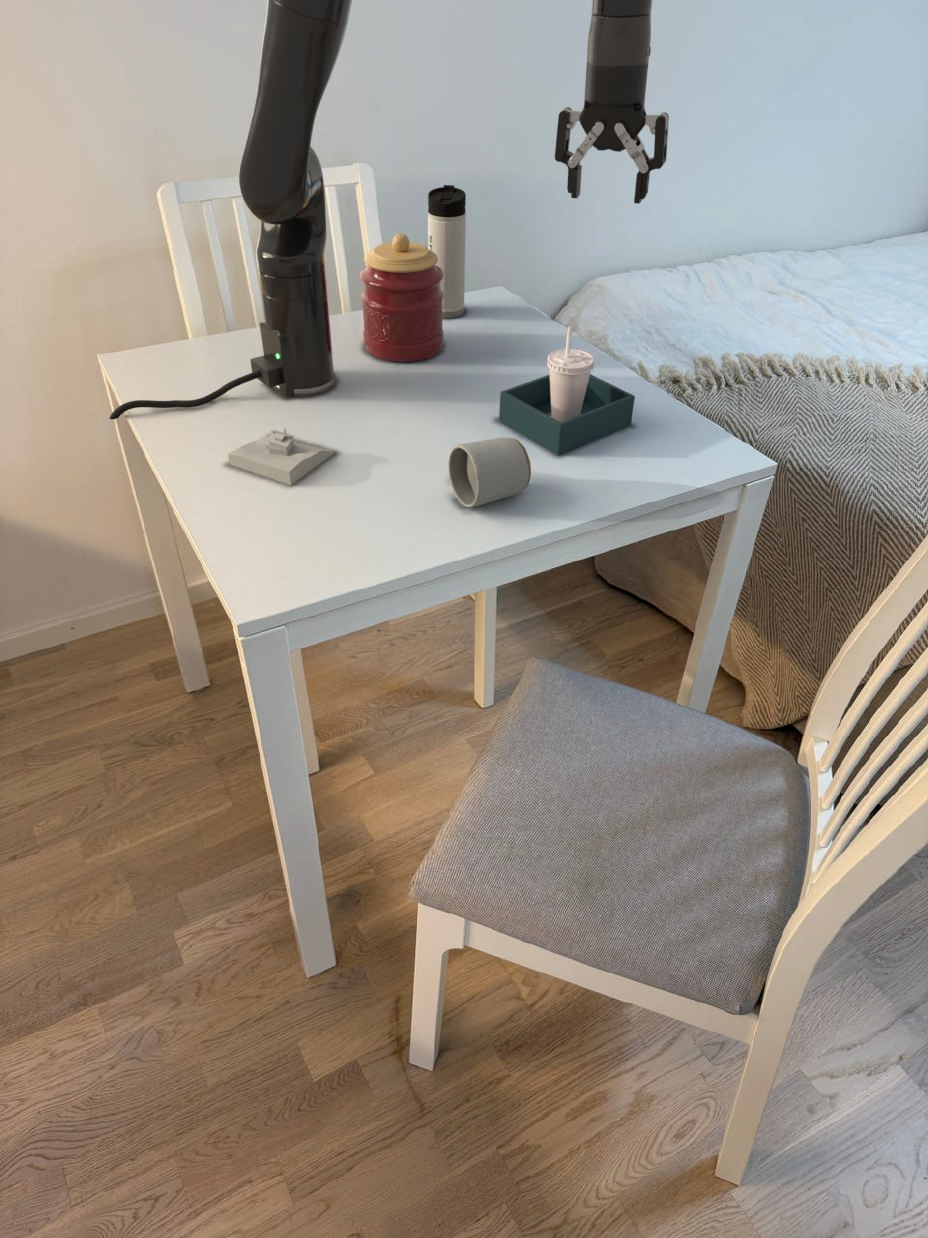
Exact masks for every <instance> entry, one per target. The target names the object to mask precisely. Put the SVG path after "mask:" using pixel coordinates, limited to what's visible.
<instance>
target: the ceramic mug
mask: <svg viewBox="0 0 928 1238" xmlns="http://www.w3.org/2000/svg"><path fill="white" fill-rule="evenodd" d="M448 475H449V481H450V483H451V488H452V491H453V493H454V495H455V497H456V499H457V500H458V501H459V503H460V504H461V505H463V506H464V507H465V508H469V509H470V508H476V507H478V506H482V505H486V504H490V503H493V502H496V501H500V500H503V499H507V498H510V497H514V496H517V495H519V494H521V493H522V492H524V491H525V490H526V489H527V488H528V486H529V484H530V481H531V476H532V466H531V460H530V457H529V454H528V452H527V449H526V448H525V446H524V444H522V442H520V440H518V439H516V438H514V437H495V438H490V439H485V440H478V441H474V442H466V443H459V444H457V445H455V446H454V447H452V449H451V451H450V453H449V457H448Z"/></svg>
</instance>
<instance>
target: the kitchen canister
mask: <svg viewBox="0 0 928 1238" xmlns="http://www.w3.org/2000/svg"><path fill="white" fill-rule="evenodd" d="M363 258H364V263H365V264H366V265H365V266H364V267H363V268H362V269H361V271H360V273H359V278H360V280H361V281H362V282H363V291H362V292H361V294H360V296H361V297H360V298H361V301H362V314H363V332H362V333H363V342H364V344H365V349H366V351H367V352H368V353H369V354H370V355H372V356H373V357H375V358H378V359H381V360H384V361H390V362H401V363H402V362H403V363H405V362H418V361H422V360H426V359H429V358H431V357H434V356H435V355H437V354H438V353H439V352H440V351H441V350H442V348H443V342H444V329H443V318H442V300H443V297H444V295H443V292H442V291H441V289H440V281H441V280H442V279H443V276H444V274H443V271H442V270H441V268H439V267H438V266H437V265H436V263H437V262H438V256H437V255H436V254H435V253H434V252H432V251H430V250H429V249H428V246H425V244H421V243H419V242H412V241H410V239H409V237H408V236H407V235H406V234H404V233H397V234H395V235H394V236H393V238H392V241H389V242H385V243H380V244H378V245H377V246H375V247H374V248H373V249H372V250H370V251H369V252H368V253H366V254H365V256H364V257H363Z"/></svg>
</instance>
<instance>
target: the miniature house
mask: <svg viewBox="0 0 928 1238" xmlns="http://www.w3.org/2000/svg"><path fill="white" fill-rule="evenodd" d="M282 430H283V432H282V431H279V430H276V429H273V430H271V433H270V435H268V436H264V437H261V438H259V439H257V440H254V441H252V442H249V443H246V444H244V445H241V446H239V447H237V448H235V449H234V450H232V451H230V452H229V453H227V456H228V462H229V465H230V466H233V467H236V468H239V469H242V470H244V471H248V472H250V473H253V474H256V475H259V476H262V477H265V478H268V479H271V480H275V481H278V482H280V483H283V484H286V485H289V486H292V485H293V484H295V483H296V482H298V481H299V480H301V478H303V477H304V476H305V475H307V474H308V473H309V472H311V471H313V470H314V469H316V467H318V466H319V465H320V464H322V463H323V462H325V461H326V460H327V459H328V458H330V457H331V456H333V455H334V454H335V450H331V449H325V448H322V447H317V446H313V445H309V444H305V443H301V442H297V441H295V439H294V435H292V434H289V433H287V429H286V428H283V429H282Z"/></svg>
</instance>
